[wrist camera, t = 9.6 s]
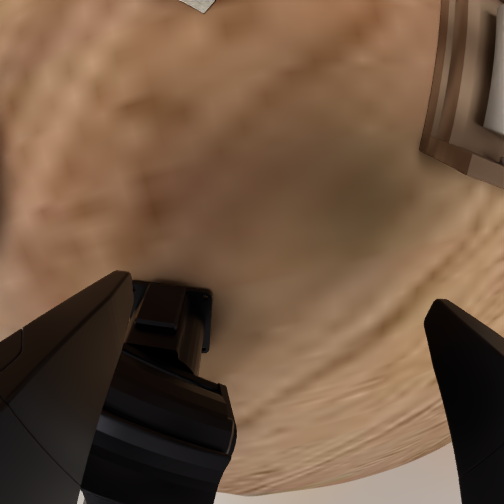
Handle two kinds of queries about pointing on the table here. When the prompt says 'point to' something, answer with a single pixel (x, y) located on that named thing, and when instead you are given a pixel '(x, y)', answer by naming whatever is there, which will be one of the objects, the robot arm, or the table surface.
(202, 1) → the condiment
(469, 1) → the cradle
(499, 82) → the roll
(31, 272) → the table surface
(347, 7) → the table surface
